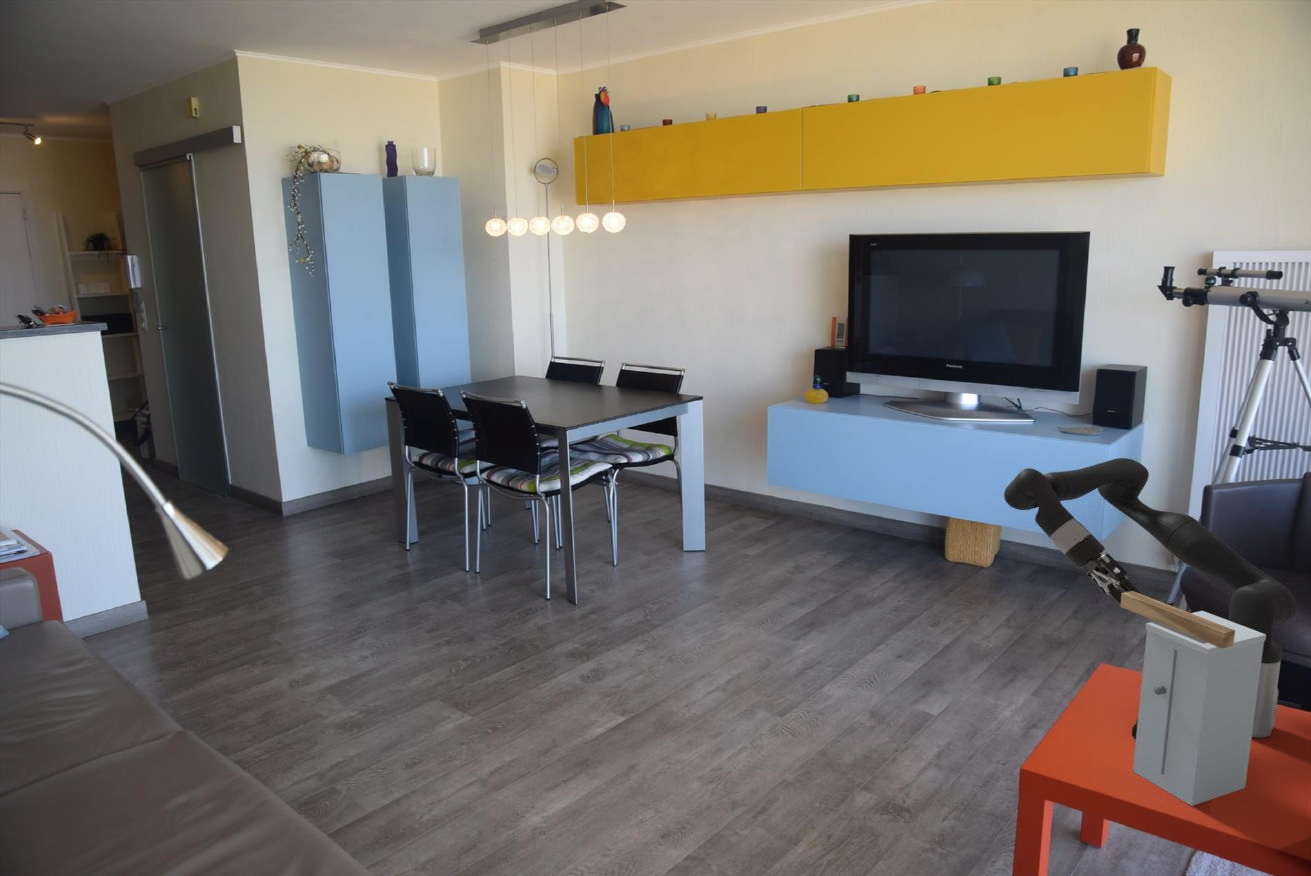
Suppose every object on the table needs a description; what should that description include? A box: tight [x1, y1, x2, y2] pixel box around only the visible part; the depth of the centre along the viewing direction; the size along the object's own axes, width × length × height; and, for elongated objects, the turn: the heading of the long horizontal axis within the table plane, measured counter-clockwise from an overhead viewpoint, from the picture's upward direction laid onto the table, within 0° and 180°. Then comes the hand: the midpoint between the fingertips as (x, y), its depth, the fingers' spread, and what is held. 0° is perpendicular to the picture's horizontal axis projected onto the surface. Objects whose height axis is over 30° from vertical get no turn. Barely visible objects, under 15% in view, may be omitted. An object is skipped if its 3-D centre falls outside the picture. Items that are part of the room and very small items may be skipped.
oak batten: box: [1119, 591, 1235, 648], centre depth 177 cm, size 3×22×3 cm, turn 23°
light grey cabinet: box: [1132, 610, 1266, 807], centre depth 179 cm, size 17×13×32 cm
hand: (1131, 600), depth 200 cm, fingers open, 8 cm apart
